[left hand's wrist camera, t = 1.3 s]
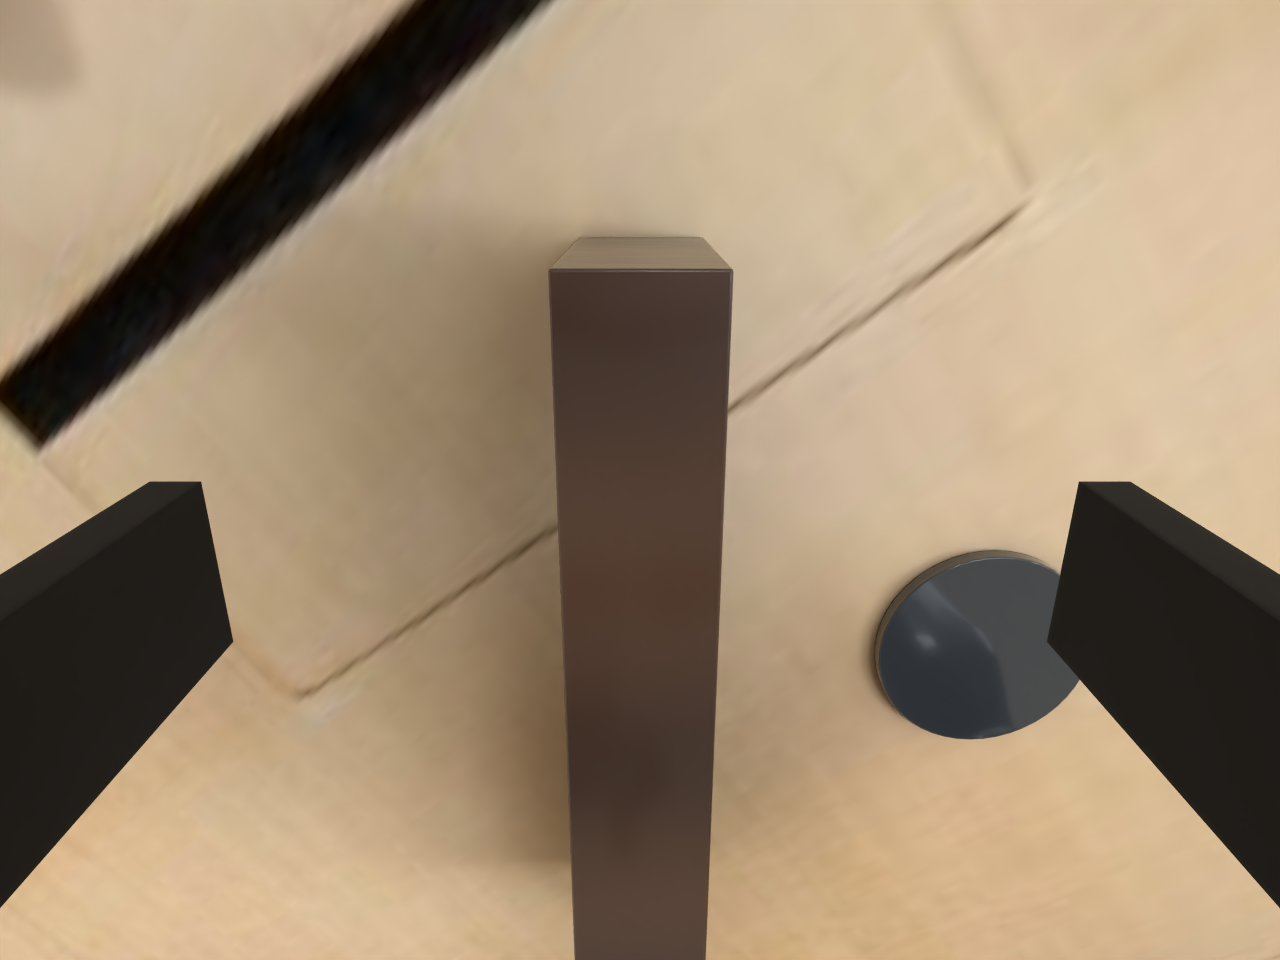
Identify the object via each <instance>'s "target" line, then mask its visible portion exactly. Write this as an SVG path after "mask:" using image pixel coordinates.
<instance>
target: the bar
mask: <svg viewBox="0 0 1280 960" xmlns="http://www.w3.org/2000/svg"><path fill="white" fill-rule="evenodd" d="M548 273H549V299H550V325H551V351H552V377H553V404H554V430H555V456H556V482H557V508H558V534H559V561H560V587H561V613H562V639H563V665H564V691H565V718H566V744H567V770H568V796H569V822H570V848H571V875H572V901H573V927H574V953H575V960H706V936H707V911H708V886H709V861H710V837H711V812H712V787H713V762H714V738H715V713H716V688H717V663H718V638H719V614H720V589H721V564H722V539H723V514H724V490H725V465H726V440H727V415H728V390H729V366H730V341H731V316H732V291H733V270H732V268H731V267H730V266H729V265H728V264H727V263H726V262H725V261H724V260H723V259H722V258H721V257H720V256H719V254H718V253H717V252H716V251H715V250H714V249H713V248H712V247H711V246H710V245H709V244H708V243H707V242H706V240H705V239H704V238H697V237H580V238H578V239H577V240H576V242H575V243H574V244H573V245H572V246H571V247H570V248H569V249H568V250H567V251H566V252H565V253H564V254H563V255H562V256H561V257H560V258H559V260H558V261H557V262H556V263H555V264H554V265H553V266H552V267H551V268H550V269H549V271H548Z"/></svg>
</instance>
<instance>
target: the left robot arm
mask: <svg viewBox="0 0 1280 960" xmlns="http://www.w3.org/2000/svg"><path fill="white" fill-rule="evenodd" d="M232 643H233V638H232V633H231V628H230V623H229V618H228V613H227V608H226V603H225V598H224V593H223V588H222V584H221V579H220V574H219V569H218V564H217V559H216V554H215V549H214V544H213V539H212V534H211V529H210V524H209V519H208V514H207V509H206V504H205V499H204V494H203V489H202V484H201V482H148V483H147V484H145V485H144V486H142V487H140V488H139V489H137V490H136V491H134V492H132V493H131V494H129V495H128V496H126V497H124V498H123V499H121V500H120V501H118V502H116V503H115V504H113V505H111V506H110V507H108V508H107V509H105V510H103V511H102V512H100V513H99V514H97V515H95V516H94V517H92V518H91V519H89V520H87V521H86V522H84V523H83V524H81V525H79V526H78V527H76V528H74V529H73V530H71V531H70V532H68V533H66V534H65V535H63V536H62V537H60V538H58V539H57V540H55V541H54V542H52V543H50V544H49V545H47V546H46V547H44V548H42V549H41V550H39V551H37V552H36V553H34V554H33V555H31V556H29V557H28V558H26V559H25V560H23V561H21V562H20V563H18V564H17V565H15V566H13V567H12V568H10V569H8V570H7V571H5V572H4V573H2V574H0V908H1V906H2V905H3V904H4V903H5V902H6V901H7V900H8V898H9V897H10V896H11V895H12V894H13V893H14V892H15V890H16V889H17V888H18V887H19V886H20V885H21V884H22V882H23V881H24V880H25V879H26V878H27V877H28V876H29V874H30V873H31V872H32V871H33V870H34V869H35V868H36V866H37V865H38V864H39V863H40V862H41V861H42V860H43V858H44V857H45V856H46V855H47V854H48V853H49V852H50V850H51V849H52V848H53V847H54V846H55V845H56V844H57V842H58V841H59V840H60V839H61V838H62V837H63V836H64V834H65V833H66V832H67V831H68V830H69V829H70V828H71V826H72V825H73V824H74V823H75V822H76V821H77V820H78V818H79V817H80V816H81V815H82V814H83V813H84V812H85V810H86V809H87V808H88V807H89V806H90V805H91V804H92V802H93V801H94V800H95V799H96V798H97V797H98V796H99V794H100V793H101V792H102V791H103V790H104V789H105V788H106V786H107V785H108V784H109V783H110V782H111V781H112V780H113V778H114V777H115V776H116V775H117V774H118V773H119V772H120V770H121V769H122V768H123V767H124V766H125V765H126V764H127V762H128V761H129V760H130V759H131V758H132V757H133V756H134V754H135V753H136V752H137V751H138V750H139V749H140V748H141V746H142V745H143V744H144V743H145V742H146V741H147V740H148V738H149V737H150V736H151V735H152V734H153V733H154V732H155V730H156V729H157V728H158V727H159V726H160V725H161V724H162V722H163V721H164V720H165V719H166V718H167V717H168V716H169V714H170V713H171V712H172V711H173V710H174V709H175V708H176V707H177V705H178V704H179V703H180V702H181V701H182V700H183V699H184V697H185V696H186V695H187V694H188V693H189V692H190V691H191V689H192V688H193V687H194V686H195V685H196V684H197V683H198V681H199V680H200V679H201V678H202V677H203V676H204V675H205V673H206V672H207V671H208V670H209V669H210V668H211V667H212V665H213V664H214V663H215V662H216V661H217V660H218V659H219V657H220V656H221V655H222V654H223V653H224V652H225V651H226V649H227V648H228V647H229V646H230V645H231V644H232ZM1047 643H1048V644H1049V645H1050V646H1051V647H1052V648H1053V649H1054V651H1055V652H1056V653H1057V654H1058V655H1059V656H1060V657H1061V659H1062V660H1063V661H1064V662H1065V663H1066V664H1067V665H1068V667H1069V668H1070V669H1071V670H1072V671H1073V672H1074V673H1075V675H1076V676H1077V677H1078V678H1079V679H1080V680H1081V681H1082V683H1083V684H1084V685H1085V686H1086V687H1087V688H1088V689H1089V691H1090V692H1091V693H1092V694H1093V695H1094V696H1095V697H1096V699H1097V700H1098V701H1099V702H1100V703H1101V704H1102V705H1103V707H1104V708H1105V709H1106V710H1107V711H1108V712H1109V713H1110V715H1111V716H1112V717H1113V718H1114V719H1115V720H1116V721H1117V722H1118V724H1119V725H1120V726H1121V727H1122V728H1123V729H1124V730H1125V732H1126V733H1127V734H1128V735H1129V736H1130V737H1131V738H1132V740H1133V741H1134V742H1135V743H1136V744H1137V745H1138V746H1139V748H1140V749H1141V750H1142V751H1143V752H1144V753H1145V754H1146V756H1147V757H1148V758H1149V759H1150V760H1151V761H1152V762H1153V764H1154V765H1155V766H1156V767H1157V768H1158V769H1159V770H1160V772H1161V773H1162V774H1163V775H1164V776H1165V777H1166V778H1167V780H1168V781H1169V782H1170V783H1171V784H1172V785H1173V786H1174V788H1175V789H1176V790H1177V791H1178V792H1179V793H1180V794H1181V796H1182V797H1183V798H1184V799H1185V800H1186V801H1187V802H1188V804H1189V805H1190V806H1191V807H1192V808H1193V809H1194V810H1195V812H1196V813H1197V814H1198V815H1199V816H1200V817H1201V818H1202V820H1203V821H1204V822H1205V823H1206V824H1207V825H1208V826H1209V828H1210V829H1211V830H1212V831H1213V832H1214V833H1215V834H1216V836H1217V837H1218V838H1219V839H1220V840H1221V841H1222V842H1223V844H1224V845H1225V846H1226V847H1227V848H1228V849H1229V850H1230V852H1231V853H1232V854H1233V855H1234V856H1235V857H1236V858H1237V860H1238V861H1239V862H1240V863H1241V864H1242V865H1243V866H1244V868H1245V869H1246V870H1247V871H1248V872H1249V873H1250V874H1251V876H1252V877H1253V878H1254V879H1255V880H1256V881H1257V882H1258V884H1259V885H1260V886H1261V887H1262V888H1263V889H1264V890H1265V892H1266V893H1267V894H1268V895H1269V896H1270V897H1271V898H1272V900H1273V901H1274V902H1275V903H1276V904H1277V905H1278V906H1279V908H1280V574H1278V573H1276V572H1275V571H1273V570H1271V569H1270V568H1268V567H1267V566H1265V565H1263V564H1262V563H1260V562H1259V561H1257V560H1255V559H1254V558H1252V557H1251V556H1249V555H1247V554H1246V553H1244V552H1243V551H1241V550H1239V549H1238V548H1236V547H1234V546H1233V545H1231V544H1230V543H1228V542H1226V541H1225V540H1223V539H1222V538H1220V537H1218V536H1217V535H1215V534H1214V533H1212V532H1210V531H1209V530H1207V529H1206V528H1204V527H1202V526H1201V525H1199V524H1197V523H1196V522H1194V521H1193V520H1191V519H1189V518H1188V517H1186V516H1185V515H1183V514H1181V513H1180V512H1178V511H1177V510H1175V509H1173V508H1172V507H1170V506H1169V505H1167V504H1165V503H1164V502H1162V501H1160V500H1159V499H1157V498H1156V497H1154V496H1152V495H1151V494H1149V493H1148V492H1146V491H1144V490H1143V489H1141V488H1140V487H1138V486H1136V485H1135V484H1133V483H1132V482H1079V484H1078V489H1077V494H1076V499H1075V504H1074V509H1073V514H1072V519H1071V524H1070V529H1069V534H1068V539H1067V544H1066V549H1065V554H1064V559H1063V564H1062V569H1061V574H1060V579H1059V584H1058V588H1057V593H1056V598H1055V603H1054V608H1053V613H1052V618H1051V623H1050V628H1049V633H1048V638H1047Z"/></svg>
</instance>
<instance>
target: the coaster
mask: <svg viewBox="0 0 1280 960" xmlns="http://www.w3.org/2000/svg"><path fill="white" fill-rule="evenodd" d="M1060 574H1061V573H1060V572H1059V571H1058V570H1056V569H1055V568H1053V567H1052V566H1050V565H1049V564H1047V563H1045V562H1043V561H1041V560H1039V559H1037V558H1034V557H1031V556H1028V555H1025V554H1021V553H1016V552H1010V551H980V552H974V553H969V554H964V555H961V556H958V557H954V558H951V559H949V560H946V561H944V562H942V563H939V564H937V565H936V566H934V567H932V568H930V569H928V570H926V571H925V572H924V573H922V574H921V575H919V576H918V577H917V578H915V579H914V580H913V581H912V582H911V583H909V584H908V585H907V586H906V587H905V588H904V589H903V590H902V591H901V592H900V593H899V595H898V596H897V597H896V598H895V599H894V601H893V602H892V604H891V605H890V607H889V608H888V610H887V612H886V614H885V616H884V617H883V619H882V622H881V625H880V627H879V630H878V633H877V639H876V644H875V663H876V669H877V673H878V677H879V680H880V682H881V684H882V686H883V688H884V691H885V693H886V695H887V697H888V698H889V700H890V701H891V703H892V704H893V706H894V707H895V708H896V709H897V710H898V711H899V712H900V713H901V714H902V715H903V716H904V717H905V718H906V719H908V720H909V721H910V722H912V723H913V724H915V725H917V726H918V727H920V728H922V729H924V730H927V731H929V732H931V733H934V734H937V735H941V736H944V737H950V738H956V739H984V738H991V737H997V736H1001V735H1004V734H1008V733H1011V732H1014V731H1017V730H1019V729H1022V728H1024V727H1026V726H1028V725H1030V724H1032V723H1034V722H1036V721H1038V720H1039V719H1041V718H1042V717H1044V716H1046V715H1047V714H1048V713H1050V712H1051V711H1052V710H1053V709H1055V708H1056V707H1057V706H1058V705H1059V704H1060V703H1061V702H1062V701H1063V700H1064V699H1065V698H1066V697H1067V696H1068V695H1069V694H1070V692H1071V691H1072V690H1073V689H1074V688H1075V686H1076V685H1077V683H1078V681H1079V680H1080V679H1079V678H1078V677H1077V676H1076V675H1075V673H1074V672H1073V671H1072V670H1071V669H1070V668H1069V667H1068V665H1067V664H1066V663H1065V662H1064V661H1063V660H1062V659H1061V657H1060V656H1059V655H1058V654H1057V653H1056V652H1055V651H1054V649H1053V648H1052V647H1051V646H1050V645H1049V644H1048V643H1047V638H1048V633H1049V628H1050V623H1051V618H1052V613H1053V608H1054V603H1055V598H1056V593H1057V588H1058V584H1059V579H1060Z"/></svg>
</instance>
